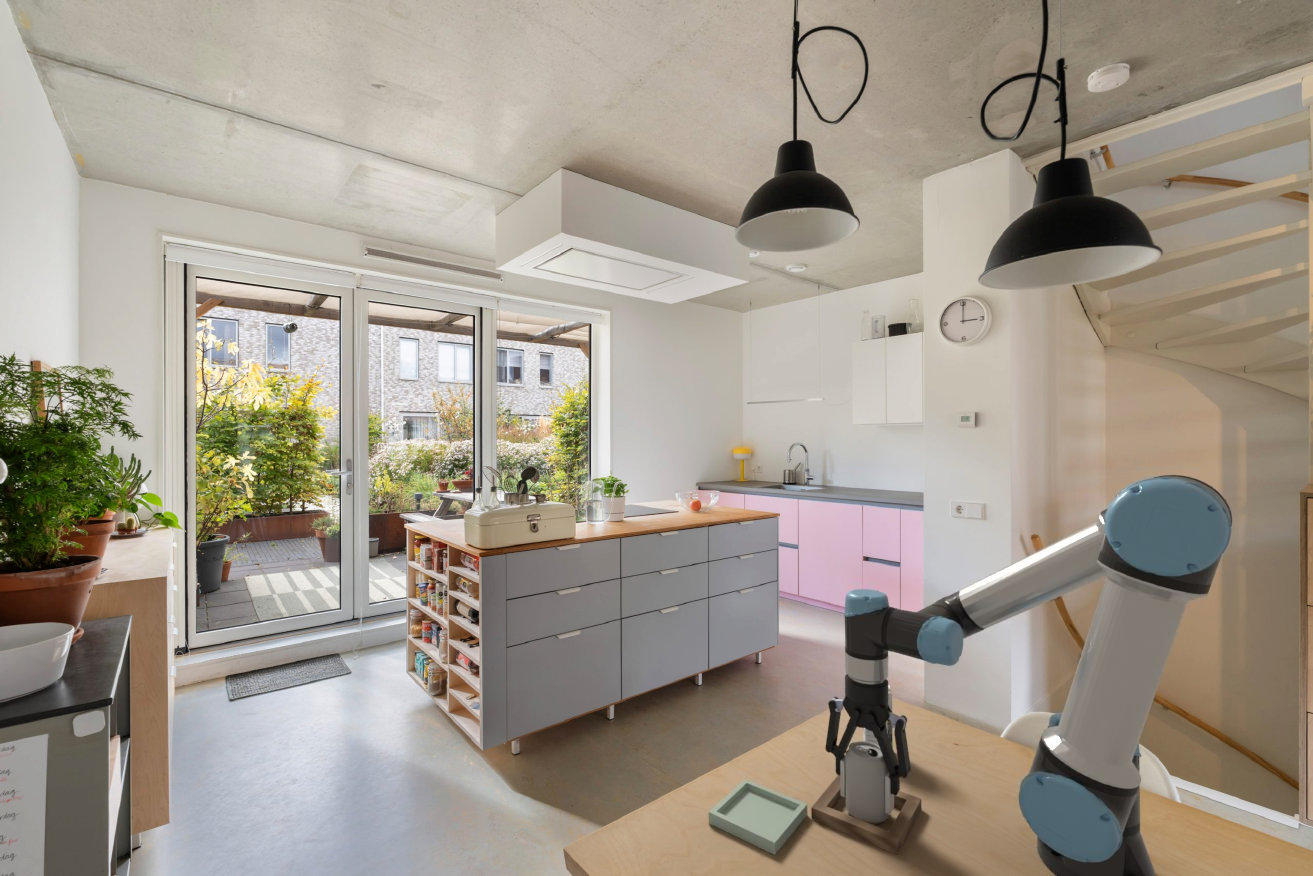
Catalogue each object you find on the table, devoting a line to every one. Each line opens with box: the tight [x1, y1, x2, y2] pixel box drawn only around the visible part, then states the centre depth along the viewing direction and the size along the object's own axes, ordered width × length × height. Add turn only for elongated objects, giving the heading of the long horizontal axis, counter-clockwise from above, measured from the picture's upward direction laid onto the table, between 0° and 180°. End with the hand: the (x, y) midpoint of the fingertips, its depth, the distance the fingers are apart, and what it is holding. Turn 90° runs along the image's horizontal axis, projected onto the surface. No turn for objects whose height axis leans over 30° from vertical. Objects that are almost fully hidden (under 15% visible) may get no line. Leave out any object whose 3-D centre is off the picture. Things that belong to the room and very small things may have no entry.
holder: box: [810, 775, 922, 855], centre depth 107 cm, size 15×15×2 cm
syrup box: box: [862, 684, 894, 749], centre depth 127 cm, size 6×6×14 cm
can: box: [845, 740, 890, 826], centre depth 107 cm, size 8×8×12 cm
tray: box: [708, 778, 808, 856], centre depth 105 cm, size 13×13×2 cm
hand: (866, 801), depth 107 cm, fingers closed on can, 7 cm apart
